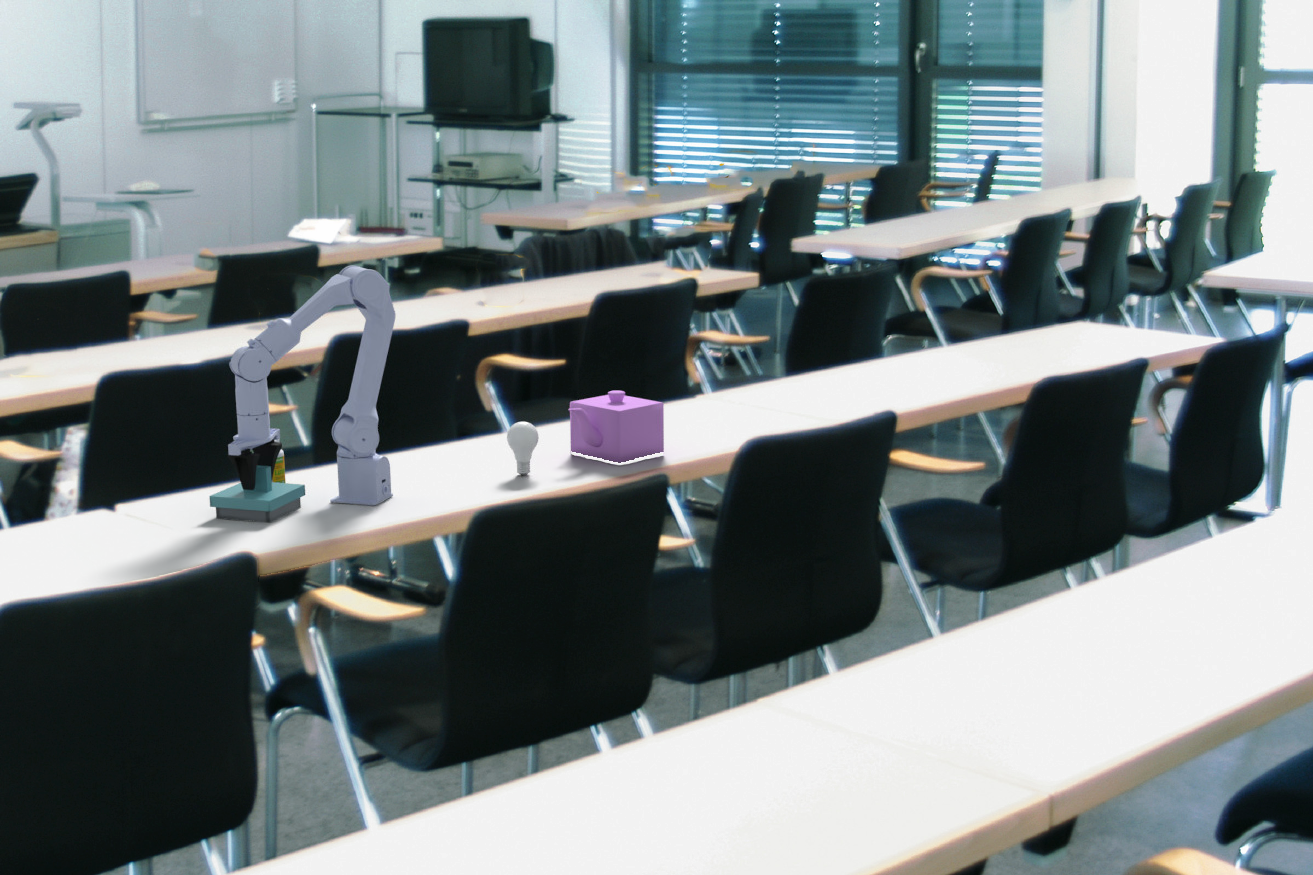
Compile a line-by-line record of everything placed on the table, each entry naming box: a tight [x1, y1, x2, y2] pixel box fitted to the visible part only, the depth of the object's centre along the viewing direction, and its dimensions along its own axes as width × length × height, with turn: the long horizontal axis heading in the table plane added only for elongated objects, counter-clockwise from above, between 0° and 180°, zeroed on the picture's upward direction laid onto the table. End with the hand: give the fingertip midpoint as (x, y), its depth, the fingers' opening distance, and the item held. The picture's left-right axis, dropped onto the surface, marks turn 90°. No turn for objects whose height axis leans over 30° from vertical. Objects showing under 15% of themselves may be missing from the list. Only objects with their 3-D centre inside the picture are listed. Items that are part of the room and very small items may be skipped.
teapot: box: [567, 390, 665, 463], centre depth 331 cm, size 15×25×14 cm, turn 135°
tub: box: [215, 497, 302, 524], centre depth 288 cm, size 11×11×4 cm
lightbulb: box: [506, 421, 539, 476], centre depth 315 cm, size 6×6×11 cm
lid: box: [209, 465, 306, 512], centre depth 287 cm, size 12×12×6 cm
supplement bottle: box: [272, 439, 286, 483], centre depth 306 cm, size 5×5×10 cm
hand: (257, 485), depth 287 cm, fingers open, 5 cm apart
